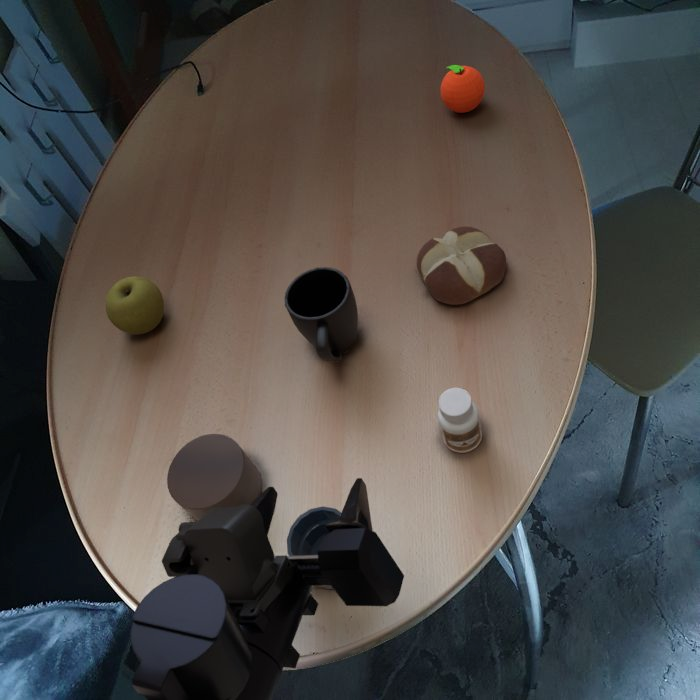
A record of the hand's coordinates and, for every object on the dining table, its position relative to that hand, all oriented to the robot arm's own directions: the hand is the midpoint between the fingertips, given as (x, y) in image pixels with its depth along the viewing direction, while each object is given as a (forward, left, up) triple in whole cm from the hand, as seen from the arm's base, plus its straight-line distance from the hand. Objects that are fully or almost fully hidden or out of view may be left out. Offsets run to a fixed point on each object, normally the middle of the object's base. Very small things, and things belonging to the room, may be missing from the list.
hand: (316, 485), depth 58 cm
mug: (+25, +9, -17) cm, 31 cm away
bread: (+39, -5, -17) cm, 42 cm away
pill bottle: (+15, -9, -17) cm, 24 cm away
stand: (+4, +17, -16) cm, 24 cm away
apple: (+27, +39, -17) cm, 50 cm away
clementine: (+74, +1, -17) cm, 75 cm away
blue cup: (-1, +2, -16) cm, 17 cm away
